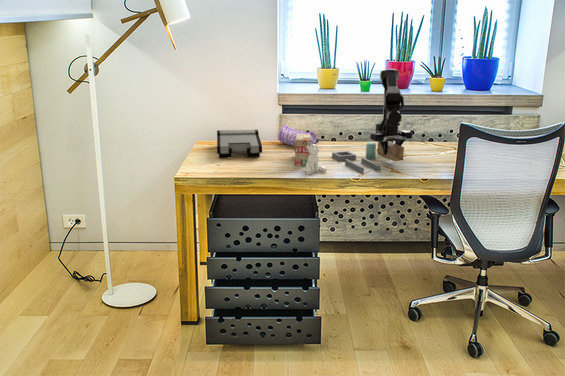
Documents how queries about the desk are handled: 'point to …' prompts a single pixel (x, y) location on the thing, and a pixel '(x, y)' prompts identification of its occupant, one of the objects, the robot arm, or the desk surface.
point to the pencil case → (293, 136)
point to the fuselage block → (392, 151)
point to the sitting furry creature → (314, 161)
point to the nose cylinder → (370, 150)
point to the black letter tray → (238, 143)
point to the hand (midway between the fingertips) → (390, 154)
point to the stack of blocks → (302, 149)
